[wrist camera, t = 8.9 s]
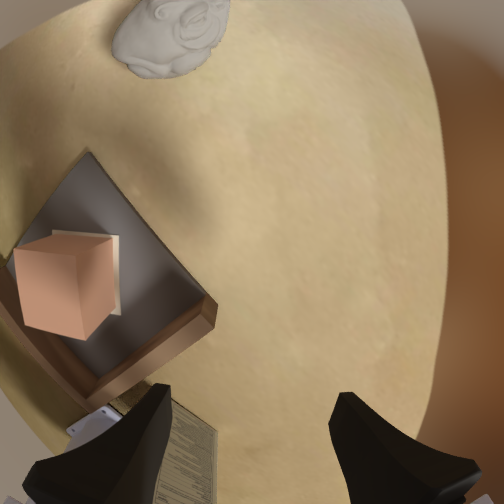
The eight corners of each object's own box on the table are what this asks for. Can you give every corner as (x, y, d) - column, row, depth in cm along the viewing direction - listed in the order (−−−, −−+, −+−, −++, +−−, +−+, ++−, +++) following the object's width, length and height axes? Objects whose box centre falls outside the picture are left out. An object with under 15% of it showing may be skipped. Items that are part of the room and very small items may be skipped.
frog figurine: (245, 71, 16) (249, 18, 10) (146, 111, 17) (102, 78, 10) (215, 9, 15) (207, -50, 8) (124, 47, 15) (84, 1, 8)
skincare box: (140, 413, 22) (103, 520, 10) (169, 395, 21) (136, 517, 10) (191, 449, 23) (177, 552, 11) (222, 433, 23) (218, 547, 11)
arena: (104, 390, 21) (90, 414, 18) (4, 272, 18) (-20, 284, 15) (218, 304, 20) (214, 328, 16) (90, 152, 17) (64, 147, 14)
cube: (115, 307, 19) (85, 340, 14) (61, 298, 19) (25, 325, 14) (112, 238, 18) (75, 255, 13) (55, 233, 17) (13, 248, 13)
